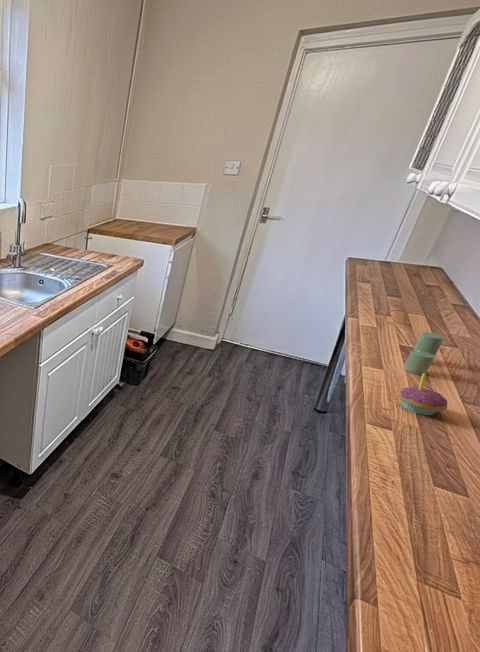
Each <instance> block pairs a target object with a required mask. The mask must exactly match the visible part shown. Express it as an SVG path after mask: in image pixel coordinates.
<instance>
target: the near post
mask: <svg viewBox="0 0 480 652" xmlns="http://www.w3.org/2000/svg"><path fill="white" fill-rule="evenodd" d="M435 358H436V355H435V356H434V355H433V354H431V353H428V352H425V351H420V350H414V349H412V350H411V351H410V353H409V355H408V357H407V358H406V361H405V363H404V365H403V368H402V369H403V371H405V372H407V373H410V374H414V375H418V374H419V375H418V376H422V374H424V371H425V374H426V375H427V373H428V371H429V369H430V368H431V366H432V363H433V361H434V359H435Z"/></svg>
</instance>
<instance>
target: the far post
mask: <svg viewBox="0 0 480 652" xmlns="http://www.w3.org/2000/svg"><path fill="white" fill-rule="evenodd" d="M444 340H445V336H443V335H441V334H438V333H434V332H431V331H430V332H429V331H422V332H421V333H420V335H419V337H418V340H417V341H416V343H415V346H414V347H413V350H420V351H425V352H428V353H431V354H433V355H434V356H435V357H436V355H437V353H438V352H439V349H440V347H441V346H442V344H443V342H444Z"/></svg>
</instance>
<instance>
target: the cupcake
mask: <svg viewBox="0 0 480 652" xmlns="http://www.w3.org/2000/svg"><path fill="white" fill-rule="evenodd" d="M426 376H427V373H426V374H425V371H424V374H422V375H421V378H420V382H419V386H407V387H404V388H401V390H400V391H399V393H398V397H399V398H400V400H401V405H402V407H403V408H404V409H406V410H408V411H410V412H412V413H415V414H418V415H422V416H432V415H435V413H437V412H438V413H441V412H442V413H443V412H444V411H446V410H447V409H448V400H447V399H446V398H445V397H444V396H443V395H442V394H441V393H439V392H437V391H434V389H433V390H432V389H429V388H426V387H424V385H425V381H426Z"/></svg>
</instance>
